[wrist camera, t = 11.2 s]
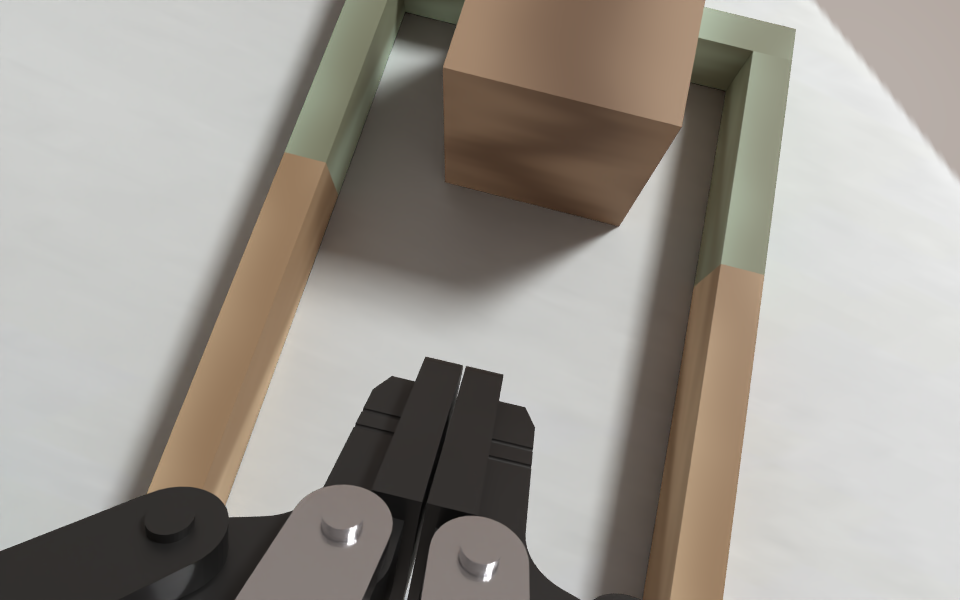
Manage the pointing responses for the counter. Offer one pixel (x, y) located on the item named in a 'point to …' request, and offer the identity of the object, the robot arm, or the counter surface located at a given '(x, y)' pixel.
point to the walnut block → (566, 98)
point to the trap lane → (713, 312)
